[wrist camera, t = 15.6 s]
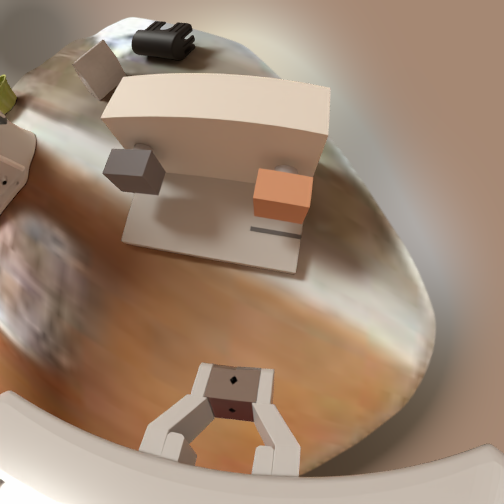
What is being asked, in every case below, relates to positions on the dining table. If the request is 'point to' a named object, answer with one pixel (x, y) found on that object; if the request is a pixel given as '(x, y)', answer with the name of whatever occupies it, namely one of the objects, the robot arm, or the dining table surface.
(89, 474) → the robot arm
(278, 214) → the orange thick block
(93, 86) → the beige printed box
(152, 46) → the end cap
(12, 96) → the plant pot
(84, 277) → the dining table surface
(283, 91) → the plug console
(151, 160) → the grey plug
